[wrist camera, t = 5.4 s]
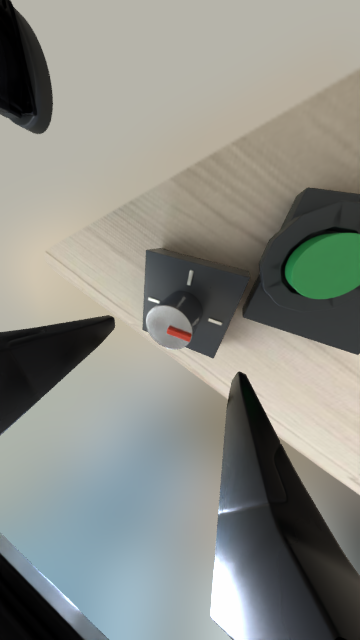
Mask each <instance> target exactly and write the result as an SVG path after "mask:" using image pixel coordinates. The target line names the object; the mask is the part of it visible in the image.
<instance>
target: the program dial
mask: <svg viewBox="0 0 360 640" xmlns="http://www.w3.org/2000/svg"><path fill="white" fill-rule="evenodd" d="M202 316H203V308H202V305H201V303H200V301H199V300H198V298H197V297H196V296H194V295H193V294H191V293H189V292H186V291H176V292H173V293H172V294H170V295H169V296H168V297H166V298H165V299H164V300H163V301H161V302H160V303H159V304H157V305H156V306H155V307H153V308H152V309H151V310H150V311H149V313H148V314H147V317H146V326H147V329H148V332H149V334H150V335H151V337H152V338H153V339H154V340H155V341H156V342H157V343H159V344H160V345H162V346H164V347H166V348H169V349H181V348H183V347H185V346H187V345H188V344H189V343H190V341H191V339H192V337H193V335H194V333H195V331H196V329H197V327H198V325H199V323H200V321H201V319H202Z"/></svg>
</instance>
